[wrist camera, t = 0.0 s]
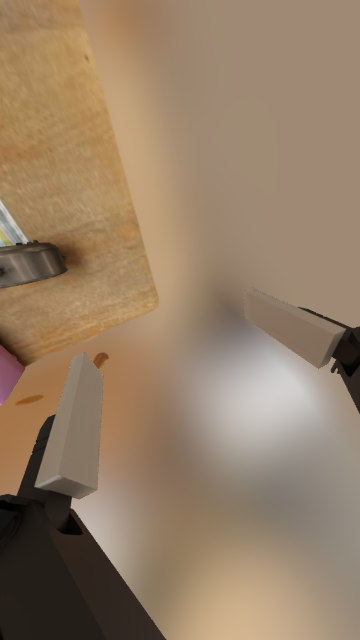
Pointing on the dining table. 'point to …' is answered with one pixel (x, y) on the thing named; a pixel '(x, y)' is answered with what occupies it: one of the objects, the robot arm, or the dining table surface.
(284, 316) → the robot arm
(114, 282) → the dining table surface
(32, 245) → the alarm clock
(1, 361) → the pink toy block
